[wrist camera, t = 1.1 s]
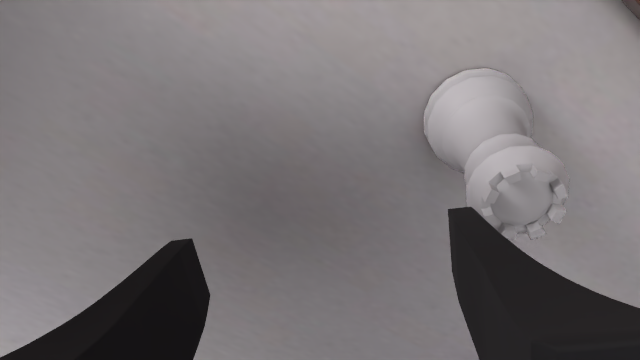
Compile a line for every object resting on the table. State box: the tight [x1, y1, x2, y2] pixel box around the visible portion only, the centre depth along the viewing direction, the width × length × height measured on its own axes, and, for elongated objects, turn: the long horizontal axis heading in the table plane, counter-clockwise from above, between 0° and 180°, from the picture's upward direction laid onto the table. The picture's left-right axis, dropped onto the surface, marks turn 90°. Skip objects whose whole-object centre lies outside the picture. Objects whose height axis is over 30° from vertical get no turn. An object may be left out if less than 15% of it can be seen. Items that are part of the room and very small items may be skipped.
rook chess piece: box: [424, 68, 570, 241], centre depth 20 cm, size 4×4×8 cm
